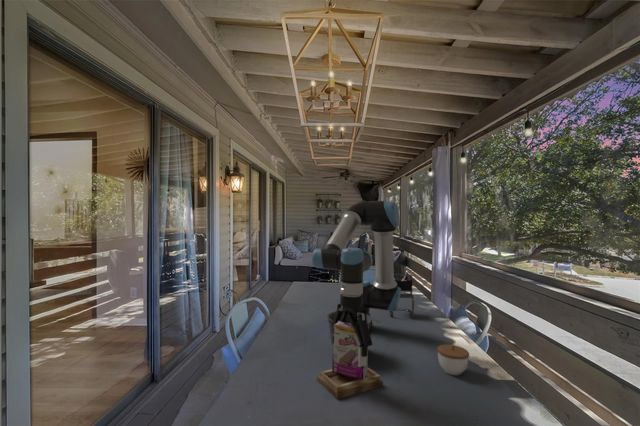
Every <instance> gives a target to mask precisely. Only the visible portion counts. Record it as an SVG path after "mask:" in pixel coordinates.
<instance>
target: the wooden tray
mask: <svg viewBox="0 0 640 426" xmlns="http://www.w3.org/2000/svg"><path fill="white" fill-rule="evenodd" d="M316 381H317V382H318V383H319V384H320V385H321V386H322V387H323V388H324V389H325V390H327V391H328V392H329V393H330V394H331V395H332V396H333V397H334V399H336V400H340V399H344V398H346V397H347V398H348V397H349V396H354V395H356V394H359V393H360V394H361V393H363V392H367V391H370V390H374V389H376V388H380V387H383V386H384V381H383V380H382V379H381V375H380V374H378V373H377V372H376V371H374V370H373V369H371V368H369V367H368V366H367V375H366V376H365V378H364V379H363V380H360V379H357V378H353V377H348V376H345V375H341V374H337V373H333V372H332V369H327V370H323V371H320V372H319V374H318V375H316Z"/></svg>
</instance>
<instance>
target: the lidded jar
mask: <svg viewBox="0 0 640 426" xmlns="http://www.w3.org/2000/svg"><path fill="white" fill-rule="evenodd" d="M469 357H470V352H469V351H468V350H467V349H466V348H464V347H462V346H458V345H455V344H441V345H440V344H439V346H438V347H437V359H438V363H439V366H440V367H441V369H442V370H443V371H444V372H445V373H446V374H448V375H452V376H461V374H462V373H463V372H465V371H466V369H467V368H468V365H469Z"/></svg>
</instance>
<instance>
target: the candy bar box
mask: <svg viewBox="0 0 640 426" xmlns="http://www.w3.org/2000/svg"><path fill="white" fill-rule="evenodd" d="M368 328H369V327H368ZM359 345H360V343H359V340H358V337H357V335H356V332H355V329H354V327H353V326H352V325H351V323H347V322H340V321H338V322H337V323H336V324H334V331H333V346H332V364H331V365H332V367H331V368H332V372H333V373H337V374H341V375H345V376H348V377H353V378H357V379H360V380H363V379H364V378H365V376H366V375H367V367H368V360H369V359H368V355H369V354H368V353H369V346H368V347H367V361H366V365H365V366H362V367H359V366H358V349H359Z"/></svg>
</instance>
